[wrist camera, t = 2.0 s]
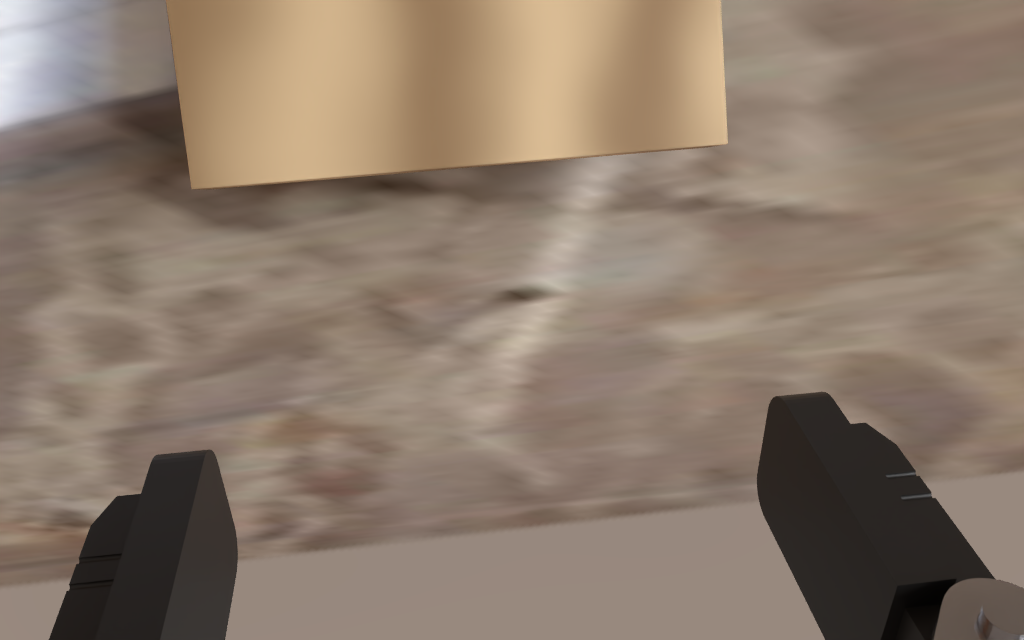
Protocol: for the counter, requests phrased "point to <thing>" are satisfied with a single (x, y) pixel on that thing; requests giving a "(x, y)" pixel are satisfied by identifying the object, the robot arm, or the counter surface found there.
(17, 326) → the counter surface
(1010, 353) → the counter surface
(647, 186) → the counter surface
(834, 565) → the robot arm
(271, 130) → the oak plank
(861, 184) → the counter surface
